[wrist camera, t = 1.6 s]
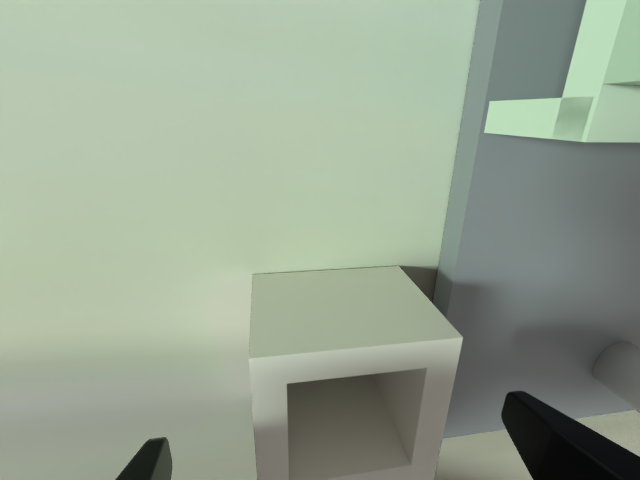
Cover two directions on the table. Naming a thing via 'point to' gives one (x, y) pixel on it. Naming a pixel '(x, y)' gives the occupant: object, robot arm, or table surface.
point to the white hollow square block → (348, 375)
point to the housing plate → (538, 238)
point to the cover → (587, 84)
